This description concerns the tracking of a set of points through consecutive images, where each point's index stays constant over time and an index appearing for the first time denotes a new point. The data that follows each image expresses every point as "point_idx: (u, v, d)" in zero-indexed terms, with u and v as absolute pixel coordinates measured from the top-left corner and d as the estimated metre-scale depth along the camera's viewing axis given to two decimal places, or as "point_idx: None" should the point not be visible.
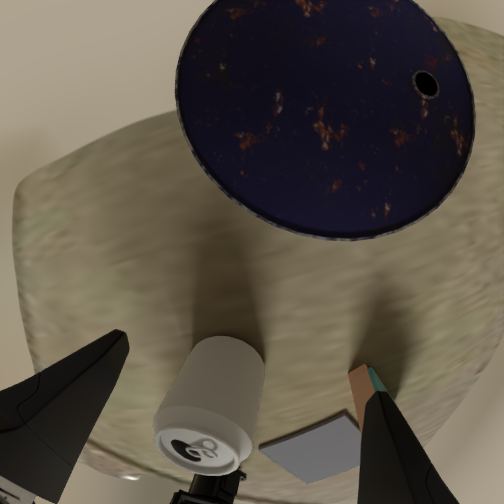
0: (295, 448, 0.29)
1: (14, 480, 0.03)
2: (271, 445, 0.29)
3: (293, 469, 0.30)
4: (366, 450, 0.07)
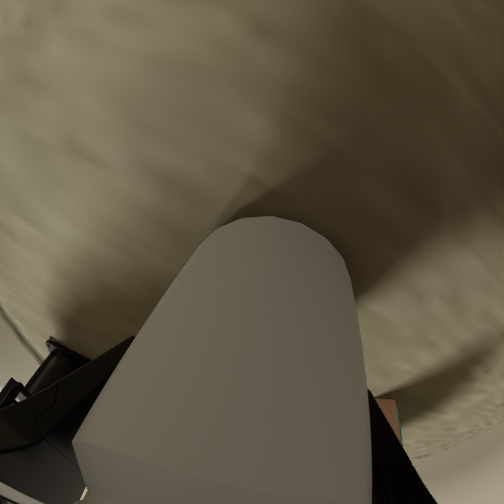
0: None
1: (32, 494, 0.03)
2: None
3: None
4: None
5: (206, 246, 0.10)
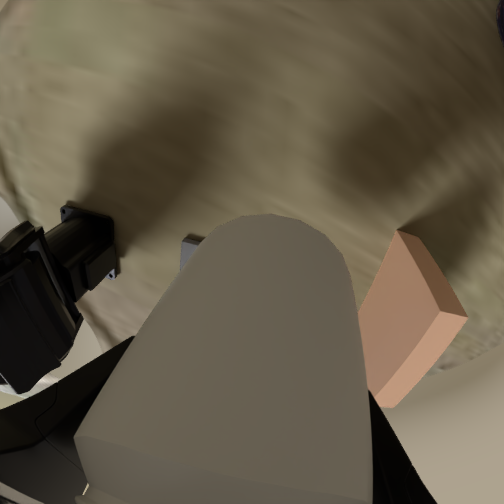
0: None
1: (32, 494, 0.03)
2: None
3: None
4: None
5: (206, 244, 0.10)
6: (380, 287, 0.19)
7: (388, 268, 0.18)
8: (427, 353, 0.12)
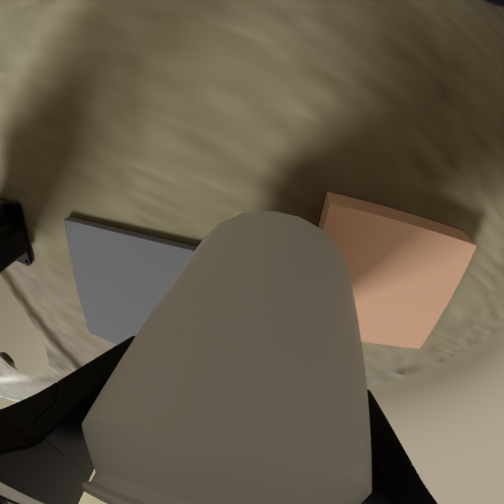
0: (107, 256, 0.19)
1: (32, 494, 0.03)
2: (83, 224, 0.18)
3: (85, 293, 0.21)
4: None
5: (210, 239, 0.11)
6: None
7: (346, 254, 0.14)
8: None
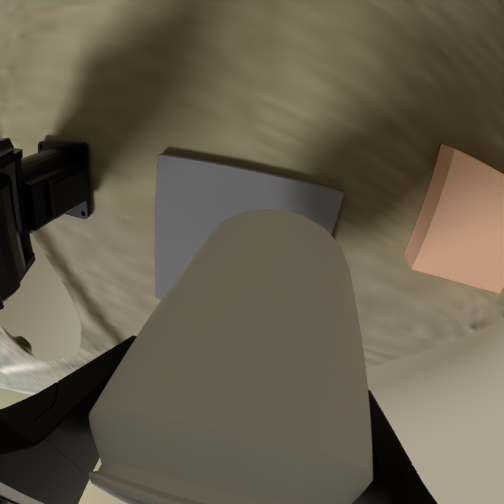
0: (212, 196, 0.18)
1: (32, 494, 0.03)
2: (185, 159, 0.17)
3: (165, 246, 0.21)
4: None
5: (213, 236, 0.11)
6: (458, 218, 0.14)
7: (462, 194, 0.13)
8: None
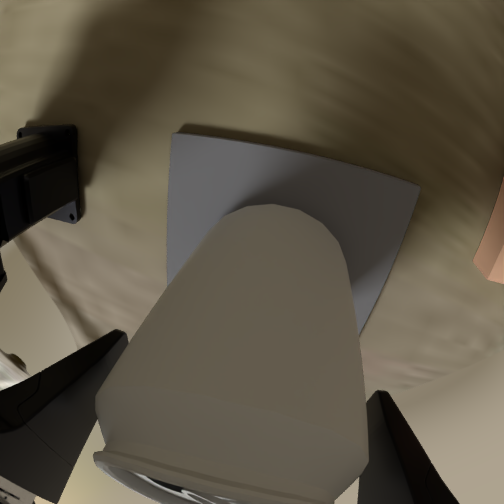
0: (249, 189, 0.13)
1: (14, 480, 0.03)
2: (211, 138, 0.12)
3: (181, 257, 0.16)
4: None
5: (215, 230, 0.12)
6: None
7: None
8: None
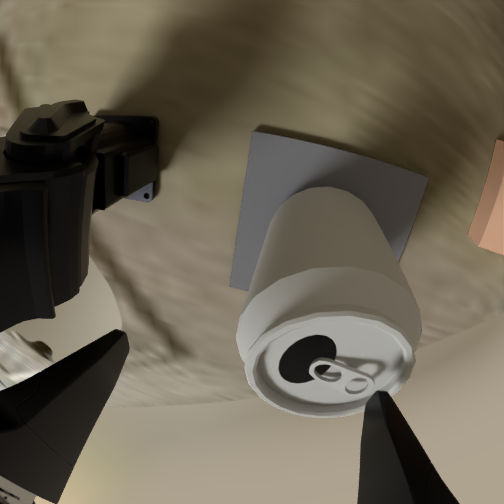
0: (310, 176, 0.18)
1: (14, 480, 0.03)
2: (283, 137, 0.17)
3: (250, 228, 0.20)
4: (366, 450, 0.07)
5: (293, 202, 0.16)
6: None
7: None
8: None
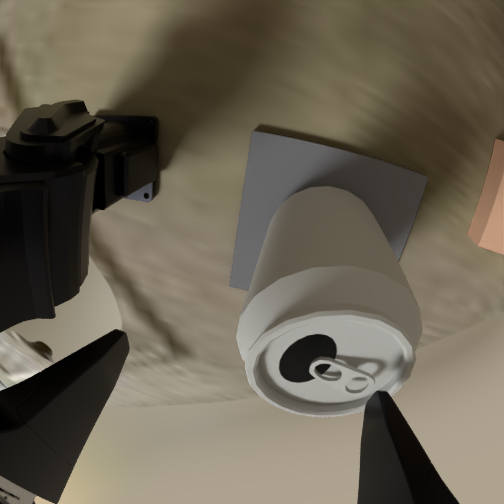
0: (310, 176, 0.18)
1: (14, 480, 0.03)
2: (283, 137, 0.17)
3: (250, 228, 0.20)
4: (366, 450, 0.07)
5: (293, 202, 0.16)
6: None
7: None
8: None
